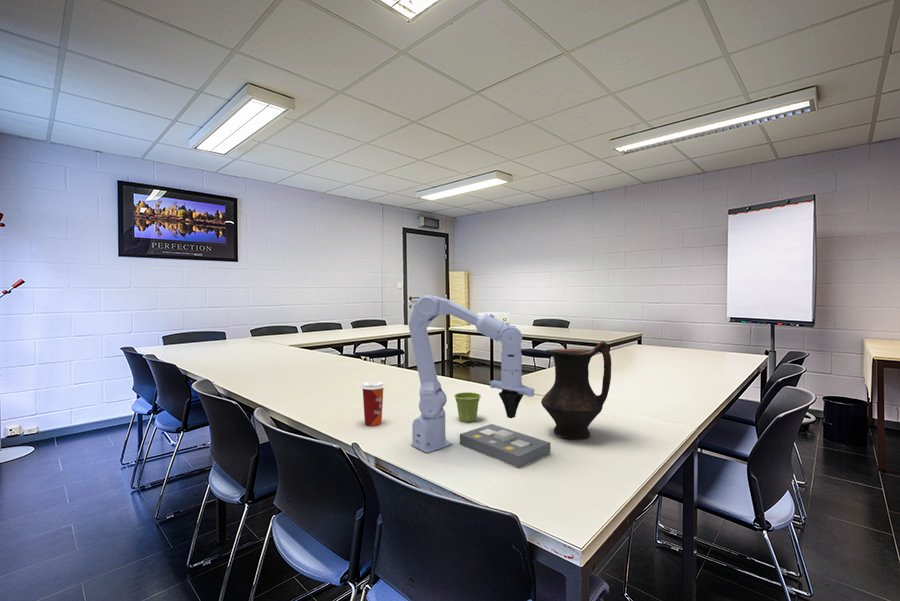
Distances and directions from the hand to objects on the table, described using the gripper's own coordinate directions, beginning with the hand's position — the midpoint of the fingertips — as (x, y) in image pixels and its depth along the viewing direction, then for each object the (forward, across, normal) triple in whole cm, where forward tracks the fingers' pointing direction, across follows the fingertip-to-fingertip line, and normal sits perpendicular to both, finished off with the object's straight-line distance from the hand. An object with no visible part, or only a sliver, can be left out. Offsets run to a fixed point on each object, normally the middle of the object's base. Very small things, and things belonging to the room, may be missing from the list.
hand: (511, 417), depth 111 cm
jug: (+10, -6, -25) cm, 27 cm away
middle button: (+8, +2, +1) cm, 8 cm away
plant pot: (+10, +28, -10) cm, 32 cm away
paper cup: (+10, +47, +17) cm, 51 cm away
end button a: (+9, +8, +1) cm, 12 cm away
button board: (+10, +2, 0) cm, 10 cm away
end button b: (+9, -4, 0) cm, 10 cm away
